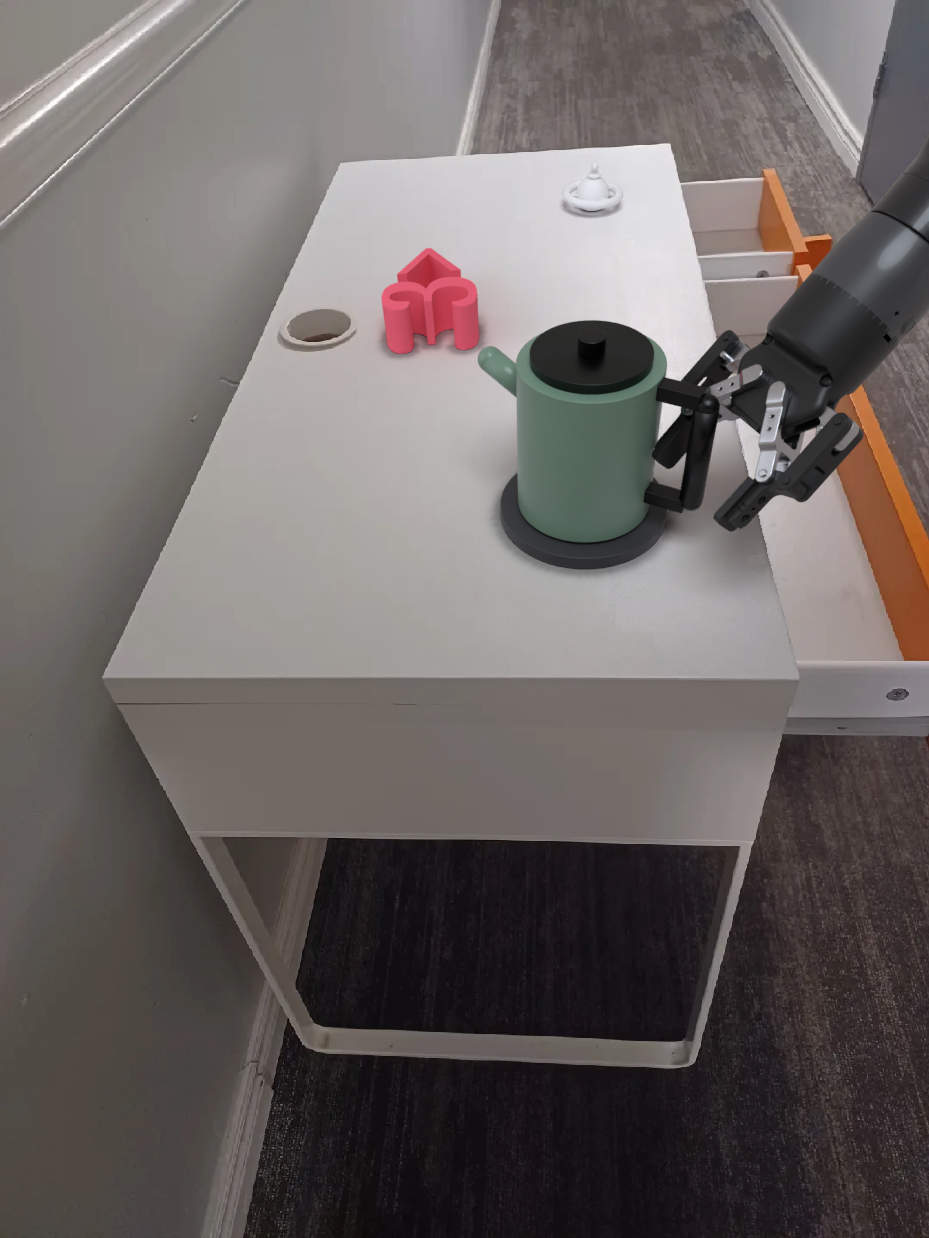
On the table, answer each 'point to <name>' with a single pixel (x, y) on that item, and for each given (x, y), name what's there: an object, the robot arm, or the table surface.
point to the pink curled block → (430, 304)
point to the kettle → (598, 429)
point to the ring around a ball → (592, 192)
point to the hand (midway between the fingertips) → (689, 493)
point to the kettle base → (578, 552)
